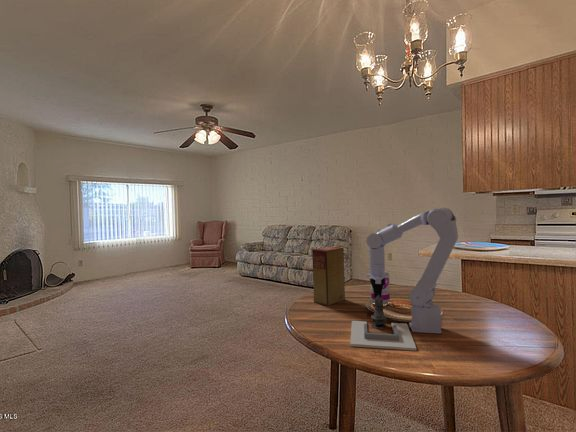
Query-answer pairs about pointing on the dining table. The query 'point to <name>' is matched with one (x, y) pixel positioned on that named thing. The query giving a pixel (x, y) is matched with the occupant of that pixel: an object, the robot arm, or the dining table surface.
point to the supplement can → (383, 290)
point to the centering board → (382, 337)
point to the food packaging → (328, 275)
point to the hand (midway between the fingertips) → (377, 297)
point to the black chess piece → (379, 314)
